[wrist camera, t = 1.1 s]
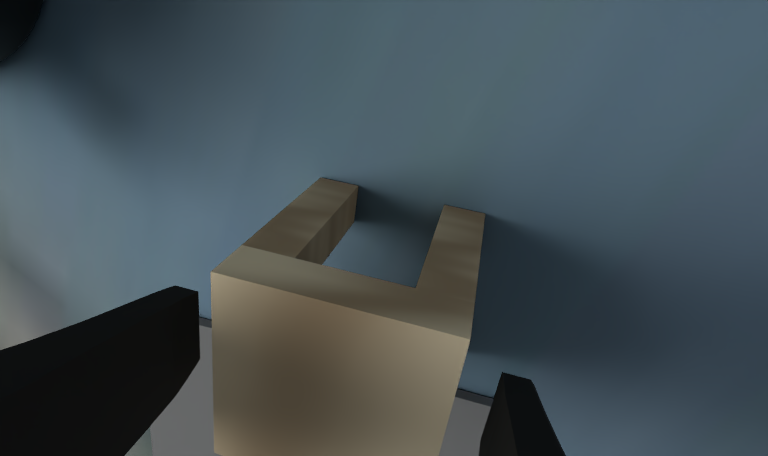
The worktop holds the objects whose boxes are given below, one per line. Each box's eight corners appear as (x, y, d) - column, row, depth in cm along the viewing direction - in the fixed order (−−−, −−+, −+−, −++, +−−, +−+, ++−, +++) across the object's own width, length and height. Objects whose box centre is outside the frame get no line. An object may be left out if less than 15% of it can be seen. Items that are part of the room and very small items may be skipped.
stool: (484, 213, 14) (470, 339, 8) (450, 350, 16) (421, 519, 11) (320, 177, 14) (210, 271, 9) (308, 312, 17) (214, 452, 11)
